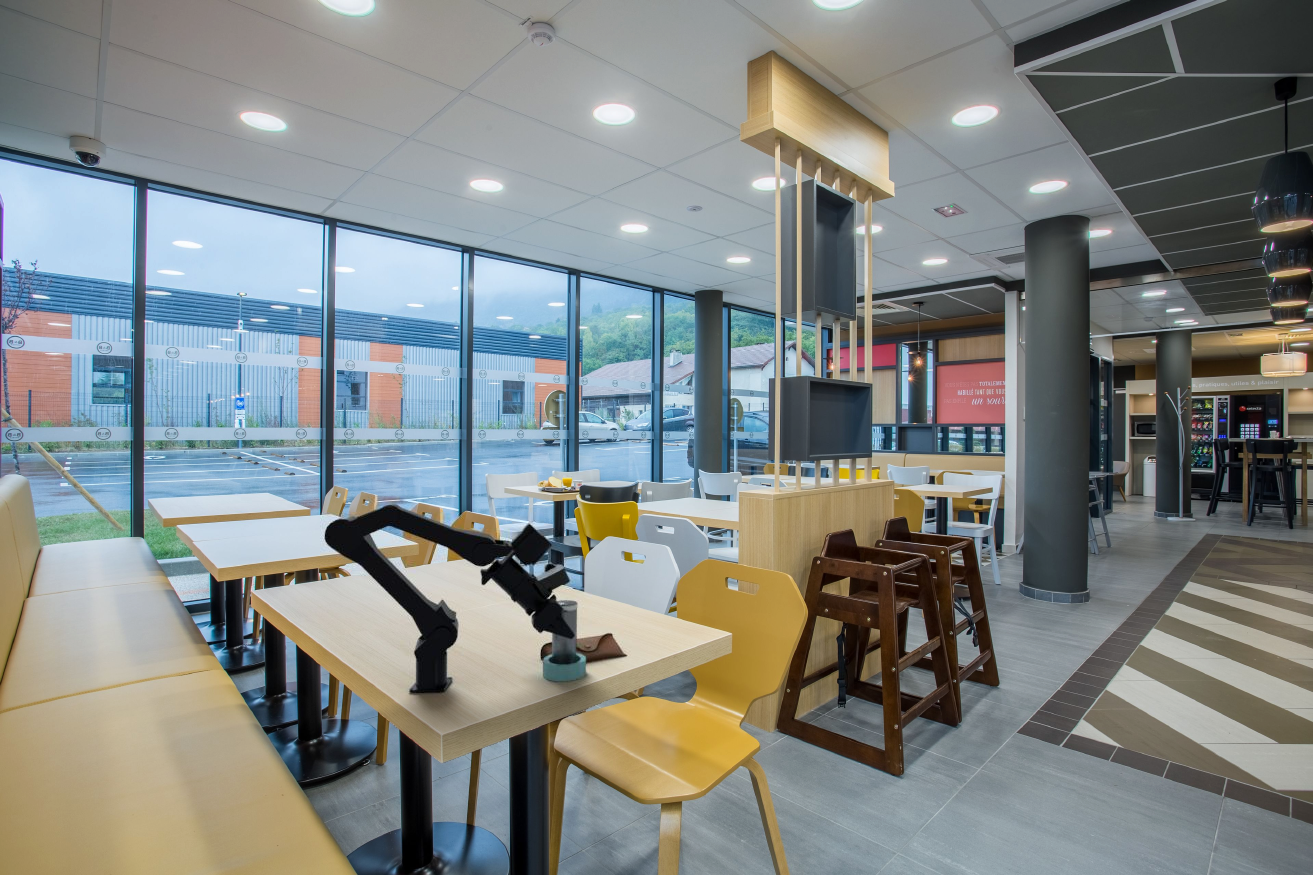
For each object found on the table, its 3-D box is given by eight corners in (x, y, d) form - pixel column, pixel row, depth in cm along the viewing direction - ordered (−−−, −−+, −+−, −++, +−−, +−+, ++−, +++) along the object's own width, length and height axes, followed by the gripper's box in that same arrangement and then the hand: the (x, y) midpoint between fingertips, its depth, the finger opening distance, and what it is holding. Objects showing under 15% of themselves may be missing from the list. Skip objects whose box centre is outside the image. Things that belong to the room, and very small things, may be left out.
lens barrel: (574, 671, 127) (574, 606, 127) (548, 670, 127) (549, 605, 128) (579, 662, 132) (579, 600, 132) (554, 662, 132) (555, 599, 133)
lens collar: (584, 680, 126) (584, 665, 126) (540, 681, 125) (540, 666, 125) (586, 666, 134) (586, 651, 134) (546, 666, 134) (546, 652, 134)
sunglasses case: (554, 669, 132) (548, 637, 135) (543, 678, 137) (538, 647, 140) (630, 655, 141) (622, 625, 144) (616, 663, 146) (610, 634, 149)
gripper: (552, 560, 120) (608, 615, 123) (540, 546, 138) (590, 594, 141) (508, 604, 118) (567, 659, 121) (503, 584, 136) (554, 632, 138)
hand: (571, 633), depth 130 cm, fingers closed on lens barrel, 5 cm apart
